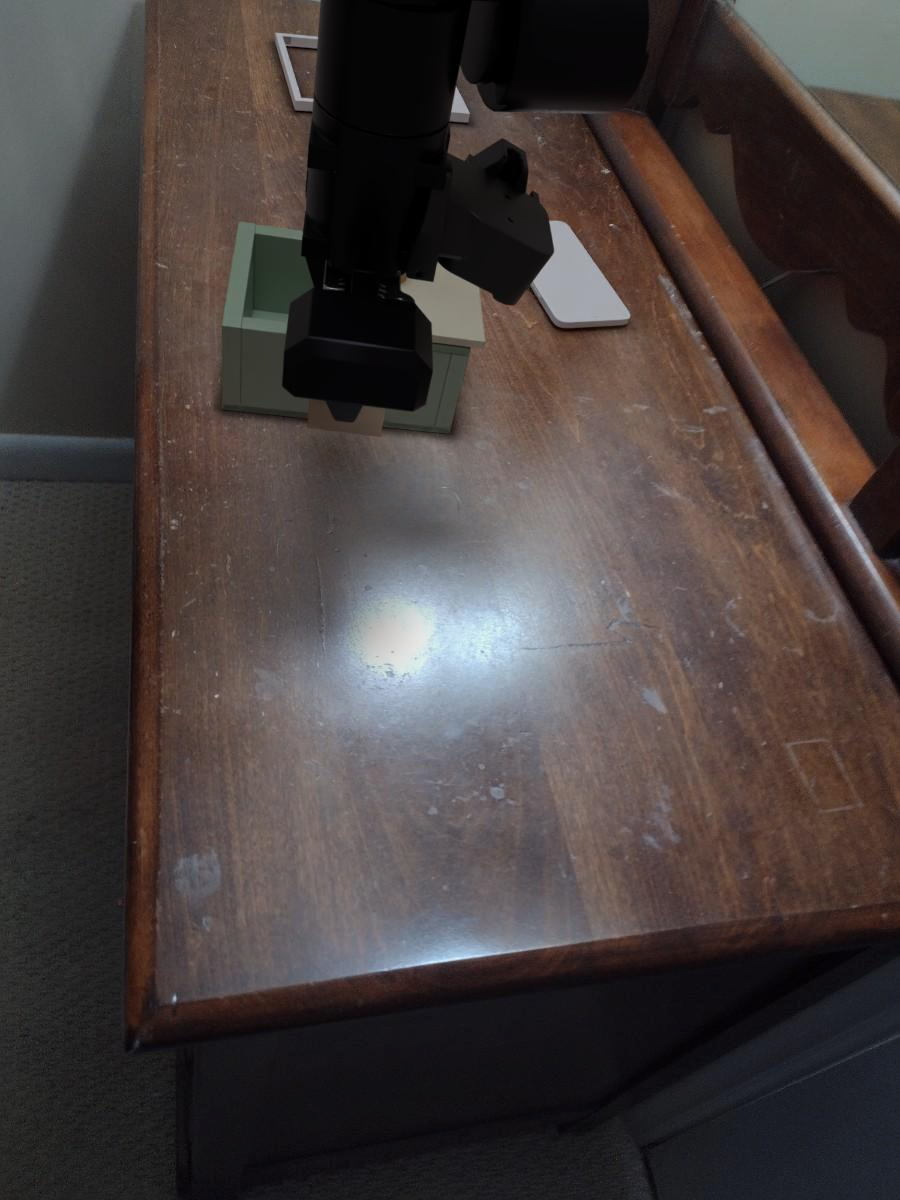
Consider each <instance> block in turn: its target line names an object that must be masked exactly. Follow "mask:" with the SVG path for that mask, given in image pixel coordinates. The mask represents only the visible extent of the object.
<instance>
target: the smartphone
mask: <svg viewBox="0 0 900 1200" xmlns="http://www.w3.org/2000/svg"><path fill="white" fill-rule="evenodd" d="M549 222H550V228H551V234H552V240H553V245H554V254H553V255H552V256H551V258H550V259H549V260H548V262H547V263H546V264H545V266H544V267H543V268H542V270H541V271H540V273H539V274H538V275H537V277H536V278H535V279H534V281H533V282H532V283H531V285H530V286H529V287H530V288H531V290H532V291H533V293H534V294H535V297H536V298H537V299H538V301H539V303H540V304H541V306H542V307H543V309H544V311H545V312H546V314H547V316H548V317H549V319H550V320H551V323H553V325H555V326H556V327H558V328H562V329H576V328H578V329H579V328H594V327H595V328H597V327H613V326H625V325H627V324H628V323H629V321H630V319H631V312H630V311H629V309H628V308H627V307H626V305H625V304H624V302H623V301H622V300H621V298H620V296H619V295H618V294H617V292H616V291H615V290H614V288H613V287H612V285H611V283H610V282H609V281H608V279H607V278H606V277H605V275H604V274H603V272H602V271H601V270H600V268H599V266H598V265H597V264H596V263H595V261H594V259H593V258H592V257H591V255H590V254H589V252H588V251H587V250H586V248H585V247H584V245H583V244H582V242H581V241H580V239H579V238H578V237H577V236H576V234H575V232H574V231H573V229H572V228H571V227H570V225H569V224H568V223H566V222H564V221H563V220H549Z"/></svg>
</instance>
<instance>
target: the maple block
mask: <svg viewBox="0 0 900 1200" xmlns="http://www.w3.org/2000/svg"><path fill="white" fill-rule="evenodd" d="M384 414H385V408H378V407H370V406H363V407H362V409H361V411H360V413H359V415H358V416H357V418H356V420H355V421H354V422H352V423H348V422H340V421H336V420H334V419H333V416H332V414H331V412H330V410H329V408H328V406H327V404H326V402H325V401H322V400H314V399H309V410H308V418H307V421H306V422H307V423H306V428H307V429H314V430H322V431H329V432H337V433H346V434H354V435H361V436H362V435H364V436H371V437H380V438H381V435H382V430H383V427H382V425H383V419H384Z"/></svg>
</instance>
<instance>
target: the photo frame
mask: <svg viewBox="0 0 900 1200" xmlns="http://www.w3.org/2000/svg"><path fill="white" fill-rule="evenodd" d="M274 44H275V47H276V50H277V54H278V57H279V61H280V64H281V68H282V71H283V74H284V79H285V81H286V85H287V89H288V91H289V95H290V98H291V102H292V105H293V109H294V111H300V112H301V111H304V112H313V98H311V97H310V98H309V97H302V96H301V92H300V89H299V85H298V82H297V79H296V76H295V72H294V68H293V66H292V62H291V59H290V56H289V53H288V49H287V46H288V47H298V48H307V49H308V48H309V49H317V44H318V36H316V35H315V36H314V35H305V34H295V33H284V32H274ZM470 116H471V112H470V110H469V109H468V106H467V105H466V103H465V101H464V98H463V96H462V95H461V93H460V91H459V89H458V87H457V86H456V89H455V94H454V100H453V105H452V111H451V116H450V122H455V123H469V121H470Z"/></svg>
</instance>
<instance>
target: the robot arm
mask: <svg viewBox="0 0 900 1200" xmlns="http://www.w3.org/2000/svg"><path fill="white" fill-rule="evenodd" d="M649 30H650V5H649V0H320V3H319V15H318V31H317V32H318V33H317V37H318V44H317V48H316V58H315V59H316V60H315V72H314V73H315V76H314V89H313V98H312V99H313V111H311V114H312V115H311V123H310V130H309V138H308V146H307V147H308V148H307V160H306V174H305V175H306V177H305V193H304V194H305V195H304V196H305V197H304V198H305V200H306V201H305V211H304V218H303V219H304V220H303V227H302V231H303V234H302V248H301V256H302V257H305V258H306V262H307V265H308V269H309V272H310V276H311V279H312V282H313V286H314V288H311V289H310V290H308V291H307V292H305V293H304V294H302V295H301V296H299V297H298V298H296V299H295V300H293V301H292V302H290V308H289V315H288V323H287V331H286V339H285V347H284V358H283V376H282V387H283V388H284V389H285V390H287V391H288V392H289V393H290V394H291V395H292V396H294V397H298V398H306V399H314V400H322V401H325V402H326V404H327V406H328V408H329V410H330V412H331V414H332V416H333V419H334V420H336V421H340V422H348V423H352V422H354V421H355V420H356V418H357V416H358V415H359V413H360V411H361V409H362V407H363V406H370V407H378V408H386V409H394V410H402V411H410V412H414V411H416V410H418V409H419V408H421V407H423V406H425V405H426V402H427V397H428V392H429V388H430V383H431V379H432V374H433V353H432V323H431V321H430V320H429V319H428V318H427V317H426V315H425V314H424V313H423V312H422V311H421V310H420V308H419V307H418V306H417V305H416V304H415V300H414V299H413V297H411V296H410V295H408V294H406V293H404V292H402V291H401V276H402V275H404V274H405V273H406V276H407V278H409V279H415V280H422V281H429V282H434V277H435V272H436V267H437V262H438V263H439V264H440V265H441V266H442V267H443V268H444V269H446V270H447V271H449V272H450V273H452V274H454V275H456V276H458V277H460V278H462V279H464V280H466V281H468V282H470V283H471V284H473V285H475V286H477V287H479V289H481V290H483V291H485V292H487V293H489V294H491V296H492V298H493V300H494V301H496V302H498V303H500V304H502V305H505V306H511V307H513V306H516V305H517V304H518V302H519V301H520V299H522V297H523V296H524V294H525V293H526V291H528V289H529V287H530V285H531V283H532V282H533V281H534V279H535V278H536V277H537V275H538V274H539V273H540V271H541V270H542V268H543V267H544V266H545V264H546V263H547V262H548V260H549V259H550V258H551V256H552V255H553V254H554V245H553V240H552V234H551V228H550V222H549V221H550V218H549V213H548V212H547V210H546V208H545V207H544V205H542V204H541V200H540V194H539V193H538V192H536V191H534V190H531V191H530V193H527V188H528V180H529V174H530V172H529V171H530V170H529V163H528V157H527V152H526V151H525V150H524V149H522V148H521V147H520V146H519V147H518V146H517V145H516V144H514V143H513V142H511V141H510V140H507V139H505V138H503V137H502V138H500V139H499V140H497V141H495V142H493V143H492V144H490V145H489V146H487V147H485V148H484V149H482V150H481V151H479V152H477V153H476V154H474V155H473V154H471V153H469V154H468V155H467V156H466V158H465V159H461V158H460V157H458V156H456V155H453V154H452V153H449V146H450V142H451V124H450V122H451V121H450V116H451V111H452V105H453V100H454V94H455V89H456V87H457V85H458V84H457V83H458V78H459V72H460V70H461V72H462V75H463V77H464V79H465V80H466V82H468V83H469V84H470V85H476V89H477V92H478V94H479V97H480V98H481V101H482V103H483V104H484V106H485V107H486V109H489V110H490V111H492V112H493V113H533V114H534V113H537V114H541V113H542V114H589V115H591V114H592V115H614V114H616V113H619V112H620V111H622V110H623V109H624V108H625V107H626V106H627V105H628V104H629V103H630V102H631V101H632V99H633V98H634V96H635V94H636V93H637V91H638V89H639V87H640V85H641V83H642V80H643V78H644V75H645V73H646V70H647V66H648V63H649V59H650V53H649V50H648V49H647V48H648V43H649V42H648V41H649V33H650V31H649ZM383 297H384V298H383Z"/></svg>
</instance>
